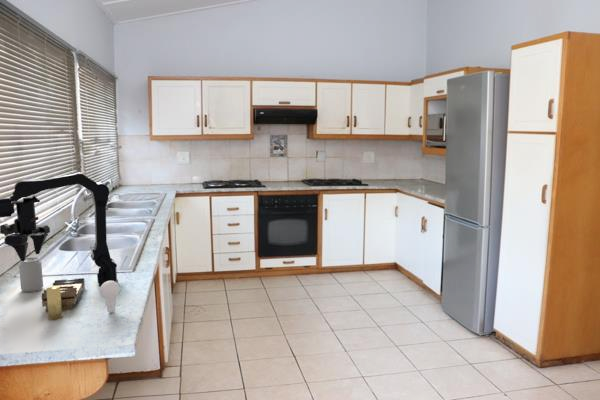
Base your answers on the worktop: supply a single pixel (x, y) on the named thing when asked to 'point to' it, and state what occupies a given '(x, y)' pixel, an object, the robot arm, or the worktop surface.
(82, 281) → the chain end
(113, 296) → the lightbulb
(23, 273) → the can
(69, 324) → the worktop surface
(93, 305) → the worktop surface
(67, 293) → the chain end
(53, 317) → the brass pin
